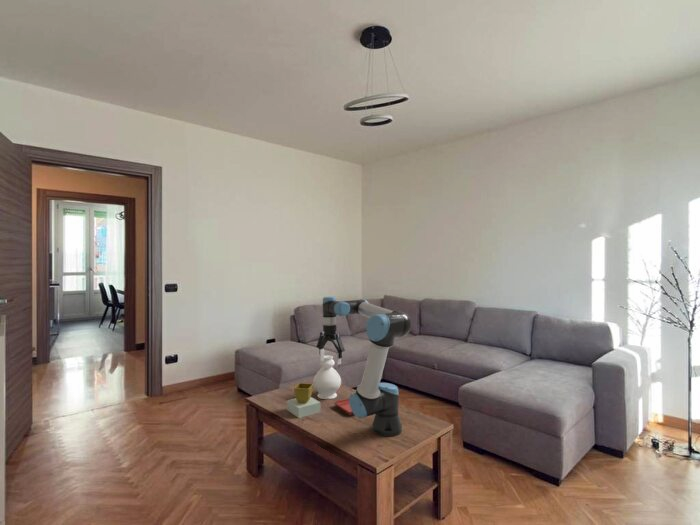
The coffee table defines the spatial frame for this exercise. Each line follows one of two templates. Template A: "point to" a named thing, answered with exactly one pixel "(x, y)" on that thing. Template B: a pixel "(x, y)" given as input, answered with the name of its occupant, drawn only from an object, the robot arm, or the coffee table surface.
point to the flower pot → (303, 392)
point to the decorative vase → (327, 379)
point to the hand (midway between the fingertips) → (330, 362)
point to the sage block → (303, 407)
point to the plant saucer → (344, 406)
